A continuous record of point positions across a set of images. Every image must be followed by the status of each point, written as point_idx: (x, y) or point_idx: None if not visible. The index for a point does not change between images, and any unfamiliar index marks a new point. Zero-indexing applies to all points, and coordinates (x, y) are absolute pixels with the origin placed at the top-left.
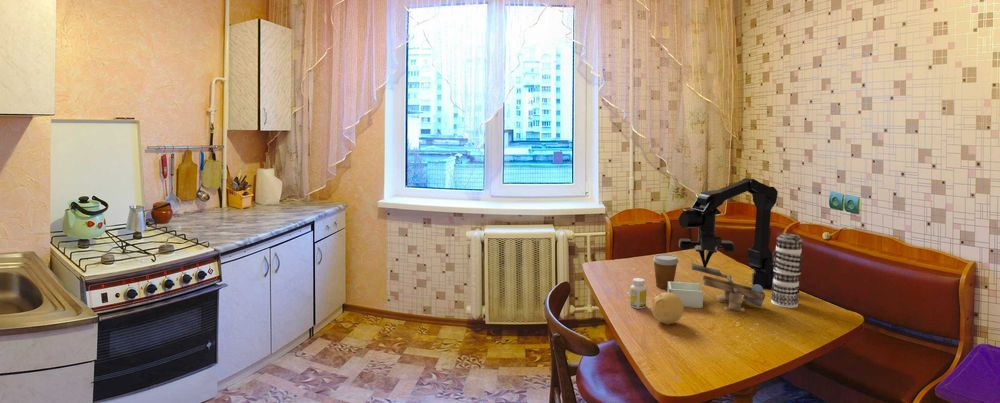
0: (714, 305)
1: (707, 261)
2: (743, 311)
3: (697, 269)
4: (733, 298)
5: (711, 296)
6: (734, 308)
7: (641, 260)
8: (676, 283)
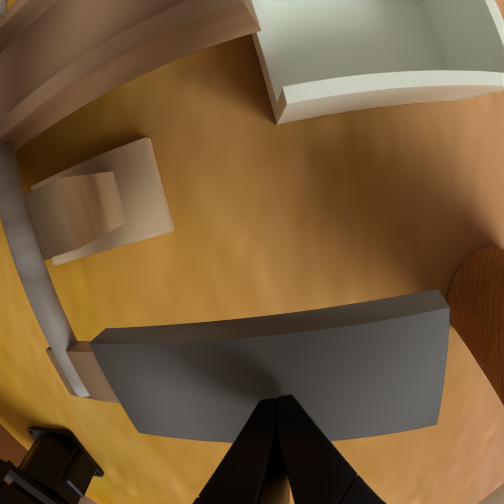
0: None
1: (236, 465)
2: None
3: (373, 304)
4: None
5: (208, 229)
6: None
7: (477, 495)
8: (473, 74)
